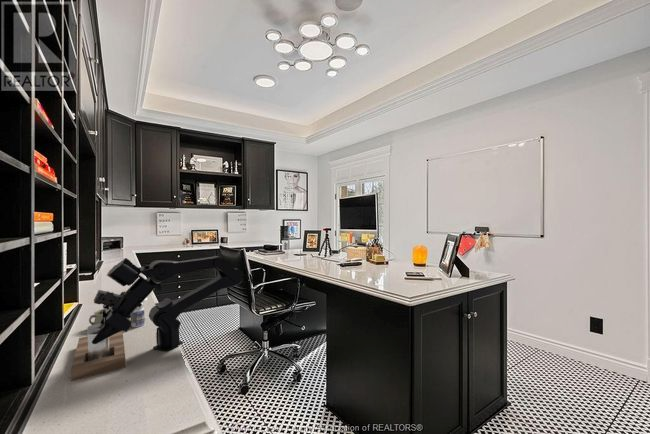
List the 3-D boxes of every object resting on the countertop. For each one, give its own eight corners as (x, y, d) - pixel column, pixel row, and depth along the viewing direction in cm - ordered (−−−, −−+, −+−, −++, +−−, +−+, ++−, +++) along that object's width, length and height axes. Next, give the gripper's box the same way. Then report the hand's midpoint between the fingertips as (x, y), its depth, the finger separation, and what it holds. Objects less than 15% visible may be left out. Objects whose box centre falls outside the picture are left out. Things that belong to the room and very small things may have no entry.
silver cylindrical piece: (114, 360, 92) (112, 323, 92) (96, 368, 87) (95, 329, 87) (102, 358, 94) (100, 322, 93) (84, 366, 89) (83, 328, 89)
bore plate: (125, 366, 89) (125, 356, 88) (71, 380, 82) (71, 369, 82) (122, 338, 110) (122, 329, 110) (79, 347, 103) (79, 338, 103)
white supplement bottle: (135, 322, 126) (134, 297, 126) (136, 318, 131) (135, 294, 131) (147, 320, 129) (147, 295, 128) (148, 316, 133) (147, 293, 133)
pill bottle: (138, 327, 120) (137, 306, 120) (127, 327, 121) (127, 305, 121) (147, 323, 124) (146, 302, 124) (137, 322, 125) (136, 302, 125)
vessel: (127, 320, 129) (126, 305, 129) (125, 326, 121) (124, 310, 121) (91, 325, 123) (90, 310, 123) (86, 333, 116) (86, 316, 116)
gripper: (110, 275, 100) (66, 317, 93) (115, 284, 85) (65, 335, 78) (139, 295, 105) (100, 336, 98) (149, 307, 90) (104, 356, 83)
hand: (92, 340), depth 89 cm, fingers closed on silver cylindrical piece, 5 cm apart
